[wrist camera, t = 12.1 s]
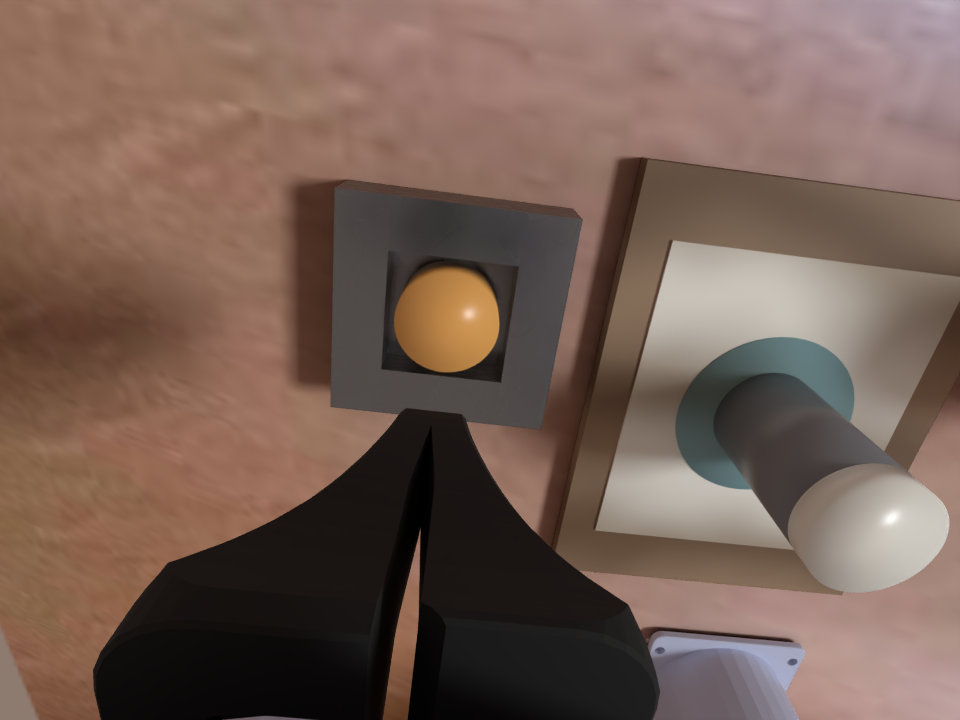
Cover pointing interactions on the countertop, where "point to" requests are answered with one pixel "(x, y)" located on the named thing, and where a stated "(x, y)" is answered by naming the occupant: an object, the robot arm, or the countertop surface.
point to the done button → (447, 317)
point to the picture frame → (750, 358)
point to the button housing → (447, 237)
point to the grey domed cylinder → (829, 486)
